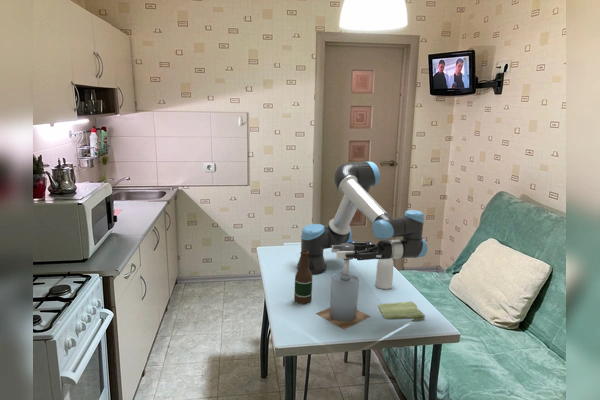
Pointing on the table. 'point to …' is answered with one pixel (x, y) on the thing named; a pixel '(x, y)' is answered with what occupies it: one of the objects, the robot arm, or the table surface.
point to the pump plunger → (346, 261)
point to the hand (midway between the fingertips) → (334, 252)
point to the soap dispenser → (344, 297)
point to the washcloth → (401, 311)
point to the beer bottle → (303, 281)
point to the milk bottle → (384, 273)
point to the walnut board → (343, 325)
